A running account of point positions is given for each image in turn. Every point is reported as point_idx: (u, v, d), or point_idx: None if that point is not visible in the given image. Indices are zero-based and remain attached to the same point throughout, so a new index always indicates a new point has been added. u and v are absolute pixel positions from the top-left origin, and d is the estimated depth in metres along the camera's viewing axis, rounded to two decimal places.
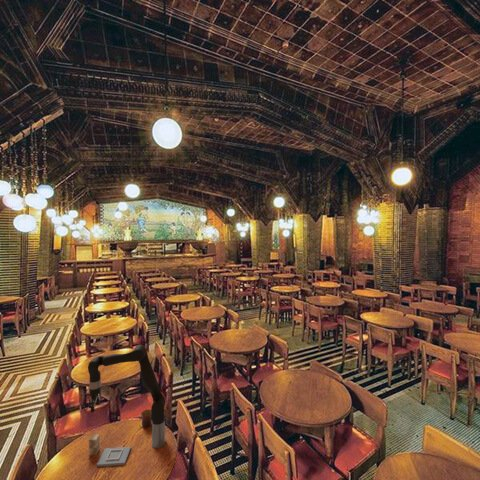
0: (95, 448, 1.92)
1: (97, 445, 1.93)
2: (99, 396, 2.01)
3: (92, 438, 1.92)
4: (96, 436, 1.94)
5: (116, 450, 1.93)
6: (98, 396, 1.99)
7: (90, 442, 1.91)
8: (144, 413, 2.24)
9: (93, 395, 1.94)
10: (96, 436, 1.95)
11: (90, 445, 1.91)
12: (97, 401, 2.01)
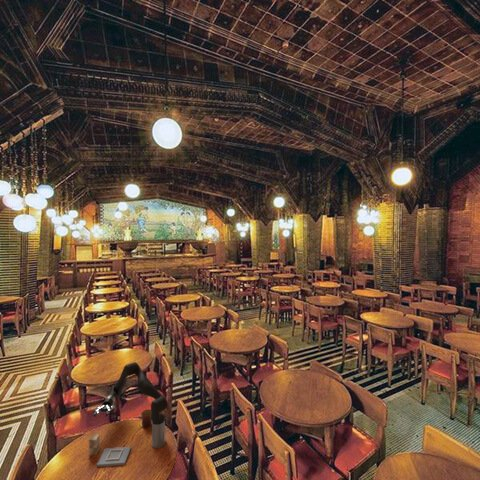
0: (95, 448, 1.92)
1: (97, 445, 1.93)
2: (108, 407, 2.12)
3: (92, 438, 1.92)
4: (96, 436, 1.94)
5: (116, 450, 1.93)
6: (106, 406, 2.12)
7: (90, 442, 1.91)
8: (144, 413, 2.24)
9: None
10: (96, 436, 1.95)
11: (90, 445, 1.91)
12: None
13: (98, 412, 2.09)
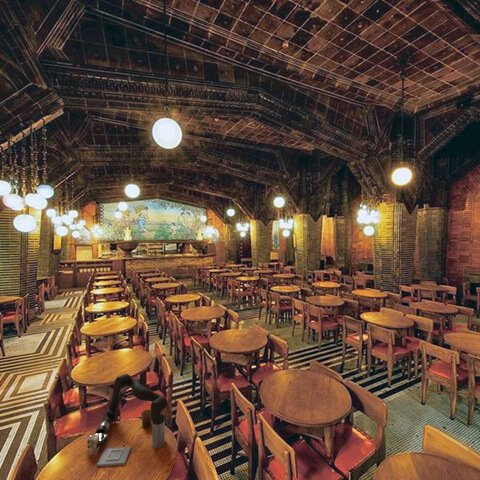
0: (95, 448, 1.92)
1: None
2: (100, 437, 1.98)
3: (92, 438, 1.92)
4: (96, 436, 1.94)
5: (116, 450, 1.93)
6: (99, 435, 2.00)
7: (90, 442, 1.91)
8: (144, 413, 2.24)
9: None
10: (96, 435, 1.95)
11: (90, 445, 1.91)
12: None
13: None
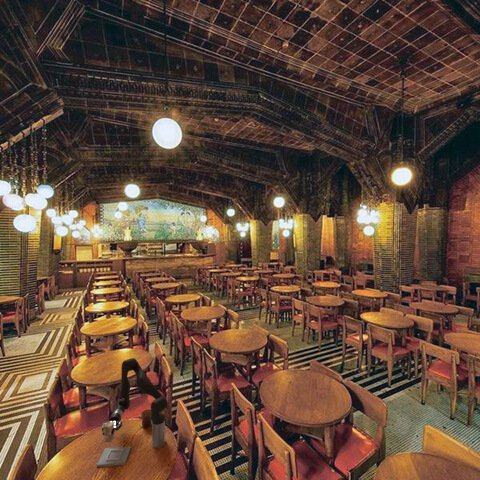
0: (110, 435, 1.88)
1: None
2: (114, 424, 1.95)
3: (107, 425, 1.89)
4: (111, 423, 1.91)
5: (116, 450, 1.93)
6: None
7: (105, 429, 1.88)
8: (144, 413, 2.24)
9: None
10: (111, 423, 1.91)
11: (105, 432, 1.88)
12: None
13: None
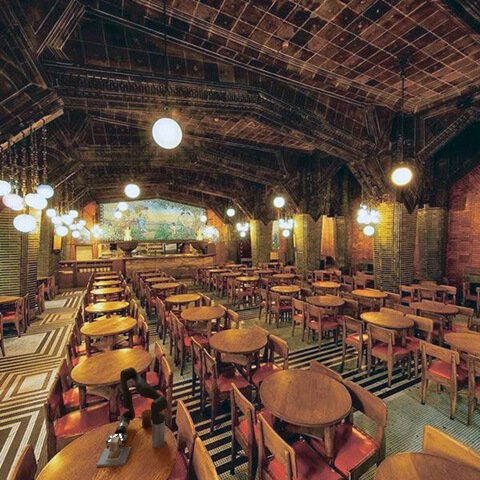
0: (116, 451, 1.87)
1: (117, 448, 1.89)
2: (121, 437, 1.94)
3: (112, 441, 1.88)
4: (116, 438, 1.90)
5: None
6: (119, 435, 1.95)
7: (110, 445, 1.87)
8: (144, 413, 2.24)
9: (114, 434, 1.99)
10: (116, 438, 1.90)
11: (110, 448, 1.87)
12: None
13: None
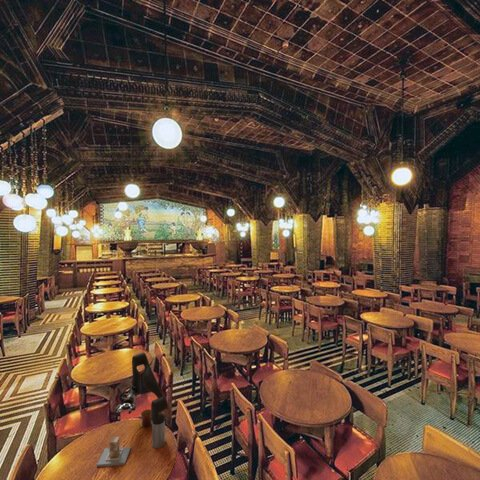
0: (116, 451, 1.87)
1: (117, 448, 1.89)
2: (130, 405, 2.10)
3: (112, 441, 1.88)
4: (116, 438, 1.90)
5: None
6: (128, 404, 2.11)
7: (110, 445, 1.87)
8: (144, 413, 2.24)
9: (123, 404, 2.14)
10: (116, 438, 1.90)
11: (110, 448, 1.87)
12: None
13: (120, 410, 2.08)
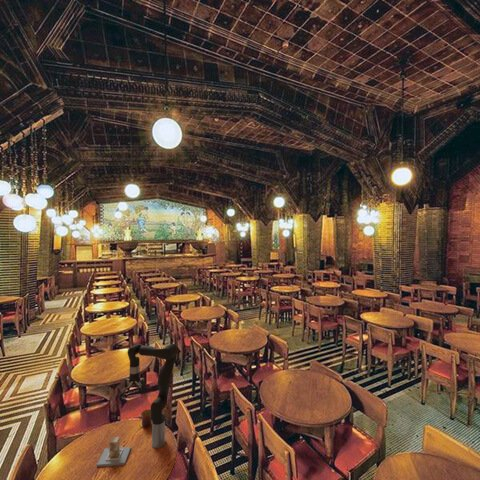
0: (116, 451, 1.87)
1: (117, 448, 1.89)
2: (138, 384, 2.08)
3: (112, 441, 1.88)
4: (116, 438, 1.90)
5: None
6: (135, 383, 2.08)
7: (110, 445, 1.87)
8: (144, 413, 2.24)
9: None
10: (116, 438, 1.90)
11: (110, 448, 1.87)
12: None
13: None
